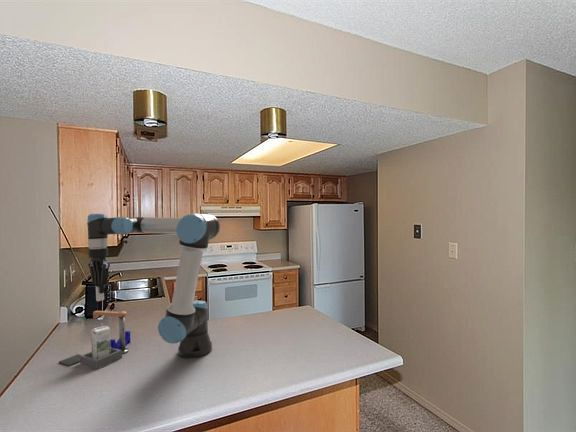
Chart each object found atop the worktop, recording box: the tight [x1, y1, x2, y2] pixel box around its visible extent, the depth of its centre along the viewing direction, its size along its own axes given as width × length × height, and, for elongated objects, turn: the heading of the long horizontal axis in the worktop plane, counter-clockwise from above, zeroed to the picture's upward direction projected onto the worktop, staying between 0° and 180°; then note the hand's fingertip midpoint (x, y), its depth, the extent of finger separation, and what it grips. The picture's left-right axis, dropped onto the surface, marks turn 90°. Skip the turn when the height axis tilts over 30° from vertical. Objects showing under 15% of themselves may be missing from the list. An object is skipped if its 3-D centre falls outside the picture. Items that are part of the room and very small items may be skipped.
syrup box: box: [90, 325, 111, 359], centre depth 137 cm, size 6×6×14 cm
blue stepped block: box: [110, 330, 131, 349], centre depth 152 cm, size 12×4×6 cm, turn 170°
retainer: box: [92, 310, 127, 319], centre depth 147 cm, size 17×4×3 cm, turn 77°
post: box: [118, 316, 130, 355], centre depth 146 cm, size 5×5×17 cm
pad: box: [58, 354, 83, 367], centre depth 138 cm, size 8×8×1 cm
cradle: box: [79, 347, 123, 370], centre depth 137 cm, size 12×12×4 cm
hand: (100, 300), depth 140 cm, fingers closed
